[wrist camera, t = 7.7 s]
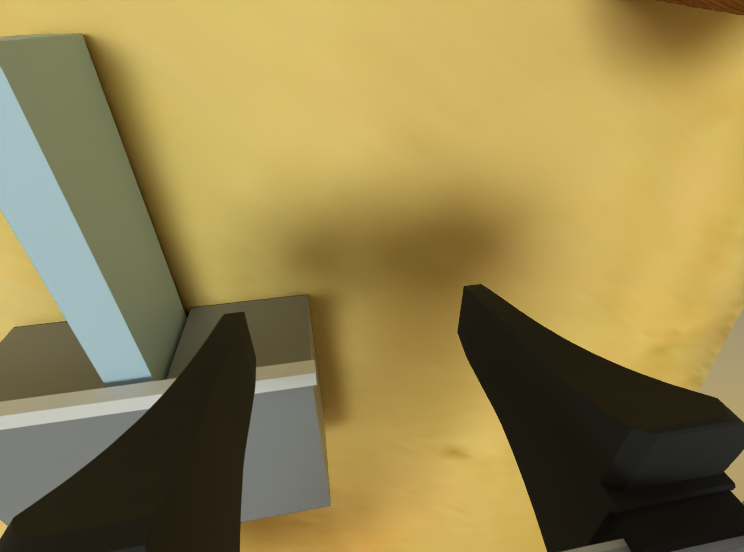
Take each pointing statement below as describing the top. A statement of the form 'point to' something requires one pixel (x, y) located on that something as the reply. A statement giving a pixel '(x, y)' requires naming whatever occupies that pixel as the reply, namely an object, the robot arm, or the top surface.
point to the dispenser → (130, 402)
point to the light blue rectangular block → (83, 209)
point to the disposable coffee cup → (713, 5)
